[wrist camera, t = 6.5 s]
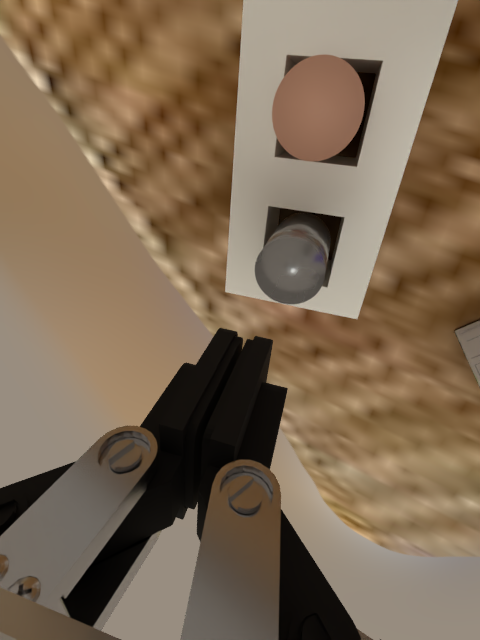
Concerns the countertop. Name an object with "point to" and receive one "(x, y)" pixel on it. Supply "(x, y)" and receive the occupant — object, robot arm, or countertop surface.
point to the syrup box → (471, 346)
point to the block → (336, 172)
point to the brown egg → (318, 108)
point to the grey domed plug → (294, 259)
